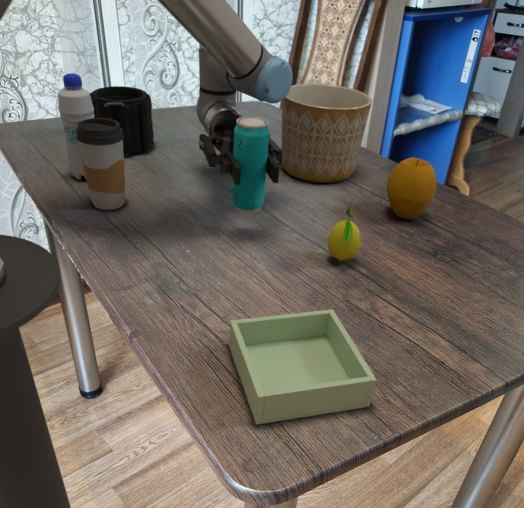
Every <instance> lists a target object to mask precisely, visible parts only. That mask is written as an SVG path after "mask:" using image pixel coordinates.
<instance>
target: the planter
mask: <svg viewBox="0 0 524 508" xmlns="http://www.w3.org/2000/svg"><path fill="white" fill-rule="evenodd" d="M372 102H373V100H372V98H371V97H370V96H369V95H368V94H366V93H365V92H363V91H361V90H358V89H356V88H355V89H354V88H351V87H347V86H342V85H336V84H327V83H298V84H293V85H291V88H290V90H289V92H288V94H287V95H286V97H285V98H284V99H283V100H282V101H281V106H282V107H281V145H280V146H281V147H280V148H281V149H282V150H283V156H282V165H281V166H282V168H283V169H284V170H285V172H286V173H288V174H289V175H290V176H293V177H294V178H297V179H299V180H303V181H306V182H311V183H317V184H318V183H321V184H328V183H329V184H330V183H337V182H341V181H344V180H347V179H348V178H350V177H351V176H352V175H353V173H354V172H355V170H356V166H357V162H358V159H359V154H360V151H361V146H362V142H363V139H364V134H365V130H366V127H367V122H368V119H369V115H370V112H371V107H372V104H373V103H372Z"/></svg>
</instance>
